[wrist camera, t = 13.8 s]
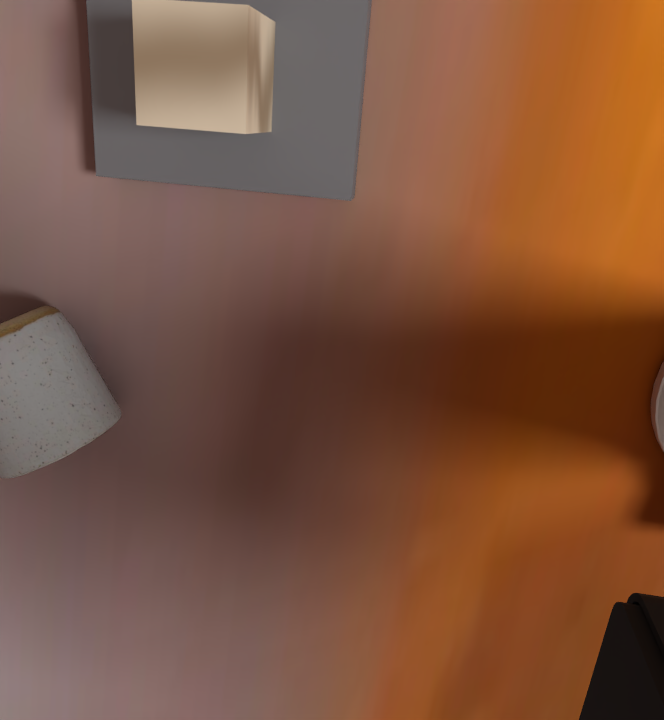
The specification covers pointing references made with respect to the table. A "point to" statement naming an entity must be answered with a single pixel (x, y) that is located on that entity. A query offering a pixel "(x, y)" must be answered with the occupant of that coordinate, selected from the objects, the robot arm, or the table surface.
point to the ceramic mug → (47, 393)
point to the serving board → (233, 150)
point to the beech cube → (203, 66)
